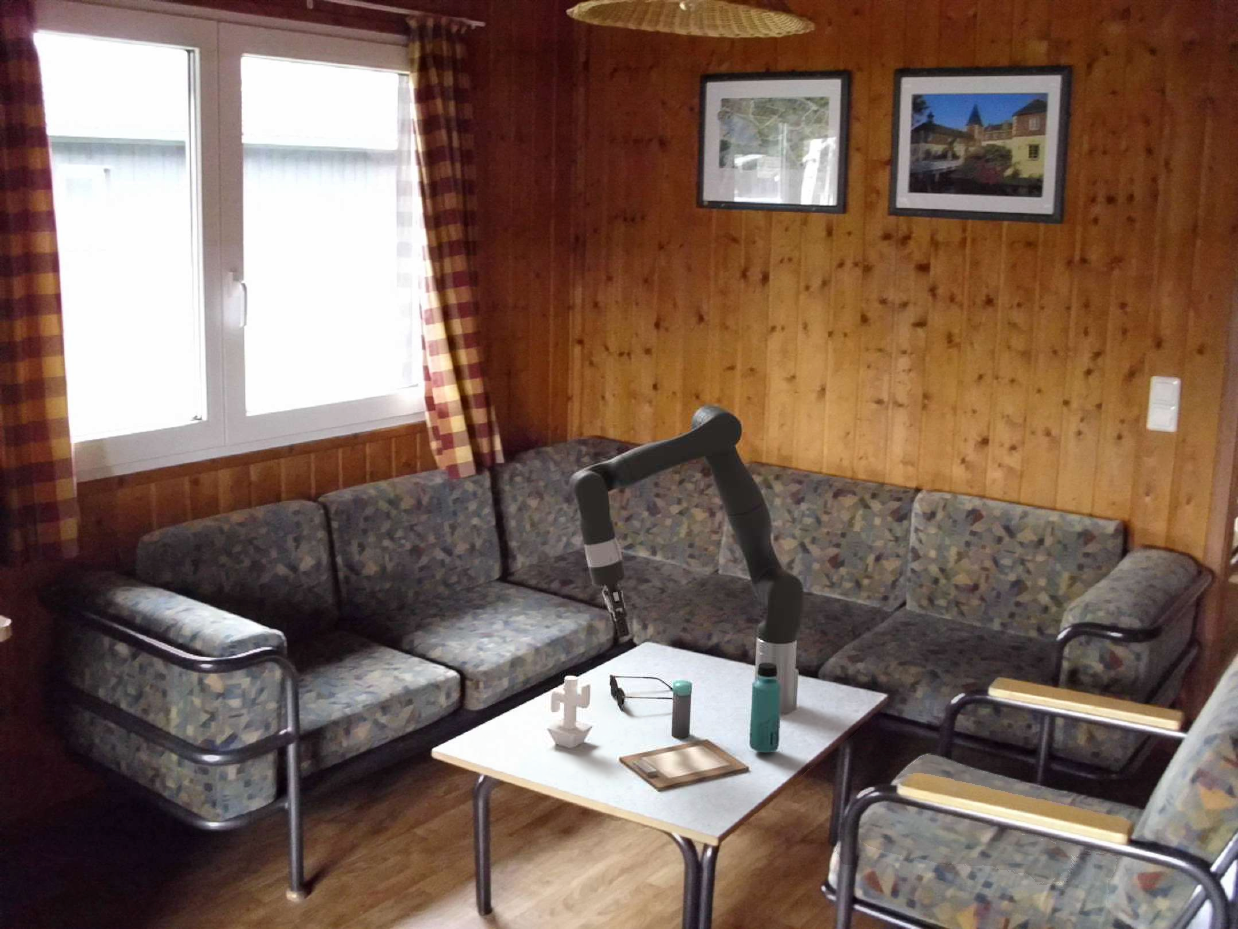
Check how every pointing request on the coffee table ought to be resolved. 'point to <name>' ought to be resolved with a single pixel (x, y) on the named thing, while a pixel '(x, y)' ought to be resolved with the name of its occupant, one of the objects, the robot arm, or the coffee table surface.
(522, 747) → the coffee table surface
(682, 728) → the grey capped container
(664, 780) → the clipboard
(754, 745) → the beverage bottle
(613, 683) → the sunglasses
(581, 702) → the figurine
